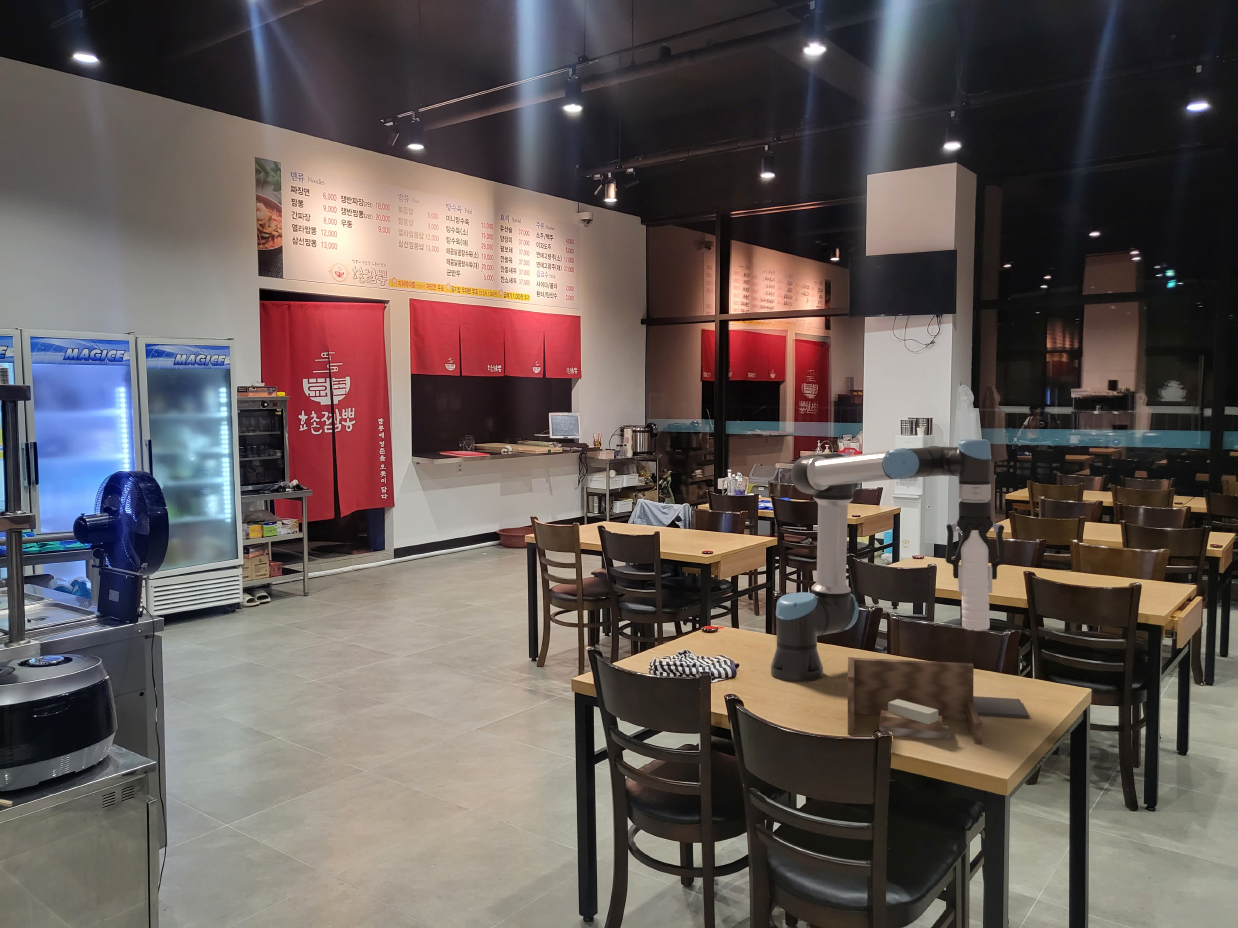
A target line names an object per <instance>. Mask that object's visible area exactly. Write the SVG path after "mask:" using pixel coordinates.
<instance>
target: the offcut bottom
mask: <svg viewBox="0 0 1238 928" xmlns="http://www.w3.org/2000/svg"><path fill="white" fill-rule="evenodd" d="M879 730H883V731H890V732H892V734H893V736H895V737H911V738H925V739H926V738H928V739H939V740H940V739H941V740H943V739H945V740H951V729H950V727H949V725H942V732H938V731H927V730H916V729H906V728H896V727H885V726H880V721H878V731H879Z"/></svg>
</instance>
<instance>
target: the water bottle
mask: <svg viewBox="0 0 1238 928" xmlns="http://www.w3.org/2000/svg"><path fill="white" fill-rule="evenodd" d="M955 532H958V533H963V532H962V531H961V530H960V528H959V527H957V528H956V531H955ZM979 534H980V533H979V530H972V531H971V533H970V536H969V538H968V540H967V541H965V542H964V544H963V545H962V548H961V559H960V565H961V567H962V592H961V617H962V618H961V627H962V628H963V629H966V630H970V631H974V630H975V631H987V630H989V629H990V627H991V626H990V625H991V623H990V621H991V620H990V596H989V594H990V593H989V588H988V587H989V578H988V577H989V575H988V574H989V572H988V570H989V569H988V567H989V566H990V565H989V557H988V547H987V545H986V544H985V542H984V541H983V539H982V538H981V537H980V535H979Z"/></svg>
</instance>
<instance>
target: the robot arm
mask: <svg viewBox="0 0 1238 928" xmlns="http://www.w3.org/2000/svg"><path fill="white" fill-rule="evenodd" d="M790 471H791V472H790V479H791V482H792V484H793V485H794V487H795V488H796V489H797V490H798V491H800V492H801V493H804V494H808V495H812V496H813V500H814V501H816V503H817V546H816V548H817V550H816V551H817V552H816V553H817V554H816V581H815V583H814V584H813V585H812V586H811V592H808V591H807V592H805V591H801V592H800V591H799V592H792V593H788V594H787V593H786V594H784V595H782V596H781V597H779V598H778V599H777V602H776V610H775V616H776V617H775V618H776V619H775V620H776V622H775V623H776V626H775V627H776V649H775V652H774V655H773V657H772V658H773V659H772V662H771V665H770V674H771V675H772V676H773V677H774V678H776V679H779V680H783V681H787V682H789V681H790V682H812V681H817V680H819V679H822V678H823V677H824V667H823V663H822V660H821V658H820V654H819V651H818V636H823V635H828V634H829V635H830V634H835V633H841V632H843V631H845V630H846V631H847V630H849V629H851V628H852V627H853V626H854V625H855V623H856V622H857V620H858V617H859V611H860V610H859V609H860V608H859V604H858V601H856V599H857V598H856V597H855V595H853V594H852V590H851V589H852V588H851V587H850V586H849V585H848V584H847V556H848V555H847V554H848V553H847V552H848V551H847V549H848V543H847V542H848V509H849V508H848V507H849V506H848V505H849V504H850V503H851V502H852V501H853V500H854V492H855V491H856V490H857V489H859V486H861V483H868V482H880V481H891V480H904V479H906V480H908V479H914V478H916V479H917V478H926V477H927V478H928V477H929V478H930V477H939V476H940V477H941V476H944V477H947V476H950V477H958V499H959V500H960V501H959V502H958V519H957V520H956V522H952V523H947V524H946V525H945V527H946V530H947V538H946V539H947V540H946V548H945V549H946V550H945V562H946V563H947V564H950V565H952V577H953V579H957V591H958V593H962V567H961V564H960V563H961V548H962V545H963V544H964V542H965V541H967V540H968V538H969V536H970V533H971V531H972V530H979V533H980V534H979V535H980V537H981V538H982V539H983V541H984V542H985V544H986V545H987V547H988V561H989V562H990V565H988V566H989V567H988V569H989V570H988V572H989V574H988V575H989V577H988V578H989V587H988V588H989V594H993V580H997V579H998V567H999V566H1003V565H1005V564H1006V560H1005V559H1006V558H1005V550H1004V549H1005V547H1004V539H1003V538H1004V537H1003V534H1004V531H1005V526H1004V525H1003V524H1002V523H1000V524H998V523H994V522H993V520H992V503H991V502H990V500H991V499H992V485H991V484H992V481H991V473H992V450H991V442H990V441H989V440H988V439H983V438H982V439H978V438H977V439H973V438H971V439H968V438H967V439H960V440H959V442H958V446H940V445H939V446H938V445H929V446H924V447H914V448H905V447H904V448H903V447H902V448H901V447H900V448H895V449H891V450H884V451H877V452H869V453H861V454H853V455H850V454H848V453H842V452H841V453H840V452H832V453H831V452H830V453H817V454H807V455H804V456H801V457H800V458H798V459H797V460H796V461H795V462H794V464H793V465H792V467H791V470H790ZM957 527H959V528H960V530H961V531H962V532H961V533H962V535H961V538H960V542H959V544H958V547H957V550H956V553H955V556H954V558H952V557H953V548H954V547H953V546H954V544H953V543H954V532H956V528H957ZM992 529H993V531H994V533H995V536H996V548H997V558H998V559H996V558H995V555H994V553H993V549H992V547H991V543H990V541H989V538H988V533H989V532H990V530H992Z"/></svg>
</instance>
